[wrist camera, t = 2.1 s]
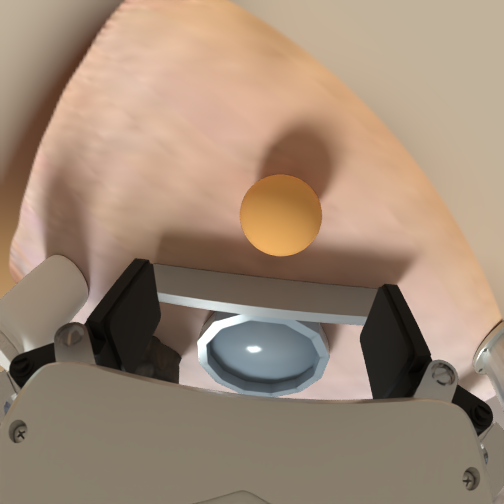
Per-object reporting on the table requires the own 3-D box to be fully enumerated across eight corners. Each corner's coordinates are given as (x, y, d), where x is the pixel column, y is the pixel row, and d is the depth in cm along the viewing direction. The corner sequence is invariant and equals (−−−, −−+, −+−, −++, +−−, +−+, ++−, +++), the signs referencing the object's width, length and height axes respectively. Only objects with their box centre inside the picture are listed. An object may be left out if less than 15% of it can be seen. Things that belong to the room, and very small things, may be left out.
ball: (322, 172, 22) (334, 192, 16) (311, 239, 24) (318, 276, 19) (248, 164, 22) (235, 181, 17) (244, 231, 25) (232, 266, 20)
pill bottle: (66, 243, 28) (-19, 320, 15) (100, 297, 31) (34, 385, 18) (38, 262, 30) (-31, 328, 17) (69, 308, 33) (12, 382, 20)
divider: (389, 289, 26) (402, 318, 22) (386, 297, 26) (398, 326, 22) (154, 263, 28) (135, 288, 24) (155, 271, 28) (137, 297, 24)
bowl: (339, 305, 27) (342, 321, 25) (311, 385, 34) (311, 400, 32) (200, 289, 28) (194, 304, 26) (206, 373, 35) (202, 387, 33)
